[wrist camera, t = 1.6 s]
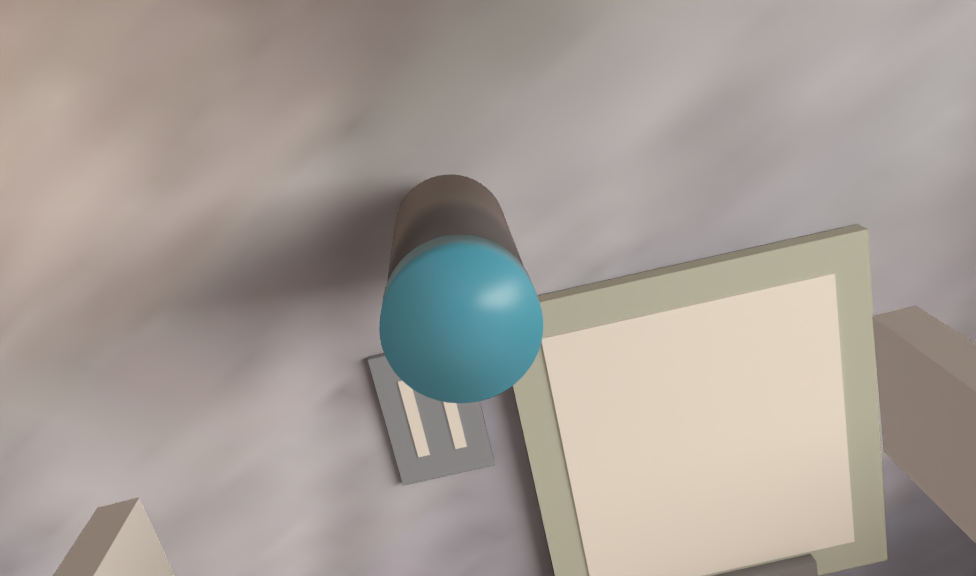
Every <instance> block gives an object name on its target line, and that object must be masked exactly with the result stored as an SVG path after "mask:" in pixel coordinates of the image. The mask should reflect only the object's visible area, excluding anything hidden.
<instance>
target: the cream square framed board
mask: <svg viewBox="0 0 976 576" xmlns="http://www.w3.org/2000/svg"><path fill="white" fill-rule="evenodd" d="M537 297H538V300H539V302H540V306H541V310H542V315H543V336H542V342H541V345H540V349H539V352H538V354H537V356H536V358H535V360H534V362H533V364H532V365H531V367H530V368H529V370H528V371H527V372H526V373H525V375H524V376H523V377H522V378H521V379H520V380H519V381H518V382H517V383H515V384H514V385H513V389H514V393H515V398H516V402H517V407H518V411H519V416H520V420H521V425H522V429H523V434H524V438H525V443H526V447H527V452H528V456H529V461H530V465H531V470H532V474H533V479H534V483H535V488H536V493H537V497H538V502H539V506H540V511H541V515H542V520H543V524H544V529H545V533H546V538H547V542H548V547H549V551H550V556H551V560H552V565H553V569H554V574H555V576H819V575H823V574H828V573H832V572H837V571H841V570H846V569H850V568H855V567H859V566H864V565H868V564H872V563H877V562H881V561H886V560H887V542H886V525H885V508H884V491H883V474H882V457H881V440H880V423H879V406H878V389H877V372H876V355H875V343H874V332H873V320H872V316H873V304H872V287H871V270H870V253H869V235H868V229H867V228H865V227H863V226H861V225H859V224H857V225H852V226H848V227H843V228H839V229H834V230H830V231H825V232H821V233H816V234H812V235H807V236H803V237H798V238H794V239H789V240H785V241H780V242H776V243H771V244H767V245H762V246H758V247H753V248H749V249H745V250H740V251H736V252H731V253H727V254H722V255H718V256H713V257H709V258H704V259H700V260H695V261H691V262H686V263H682V264H677V265H673V266H668V267H664V268H659V269H655V270H650V271H646V272H641V273H637V274H632V275H628V276H623V277H619V278H615V279H610V280H606V281H601V282H597V283H592V284H588V285H583V286H579V287H574V288H570V289H565V290H561V291H556V292H552V293H547V294H543V295H538V296H537Z"/></svg>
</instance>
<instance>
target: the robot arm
mask: <svg viewBox="0 0 976 576" xmlns="http://www.w3.org/2000/svg"><path fill="white" fill-rule="evenodd" d="M872 320H873V332H874V343H875V355H876V367H877V378H878V390H879V401H880V413H881V424H882V436H883V448H884V452H885V453H886V454H887V455H888V456H889V457H890V458H891V459H892V460H893V461H894V462H895V463H896V464H897V465H898V466H899V467H900V468H901V469H902V470H903V471H904V472H905V473H906V474H907V475H908V476H909V477H910V478H911V479H912V480H913V481H914V482H915V483H916V484H917V485H918V486H919V487H920V488H921V489H922V490H923V491H924V492H925V493H926V494H927V495H928V496H929V497H930V498H931V499H932V500H933V501H934V502H935V503H936V504H937V505H938V506H939V507H940V508H941V509H942V510H943V511H944V512H945V513H946V514H947V515H948V516H949V517H950V518H951V519H952V520H953V521H954V522H955V523H956V525H957V526H958V527H959V528H960V529H961V530H962V531H963V532H964V533H965V534H966V535H967V536H968V537H969V538H970V539H971V540H972V541H973V542H974V543H975V544H976V344H975V343H974V342H972V341H971V340H969V339H967V338H966V337H964V336H963V335H961V334H960V333H958V332H956V331H955V330H953V329H952V328H950V327H949V326H947V325H945V324H944V323H942V322H941V321H939V320H938V319H936V318H934V317H933V316H931V315H930V314H928V313H927V312H925V311H923V310H922V309H920V308H919V307H917V306H912V307H908V308H904V309H900V310H896V311H892V312H888V313H884V314H880V315H876V316H872ZM53 576H175V575H174V572H173V570H172V568H171V566H170V564H169V561H168V559H167V557H166V555H165V553H164V550H163V548H162V546H161V544H160V542H159V540H158V537H157V535H156V533H155V531H154V529H153V526H152V524H151V522H150V520H149V518H148V515H147V513H146V511H145V509H144V507H143V504H142V502H141V500H140V498H135V499H131V500H127V501H123V502H119V503H115V504H111V505H107V506H103V507H99V508H97V509H96V511H95V512H94V514H93V515H92V517H91V518H90V520H89V521H88V523H87V524H86V526H85V527H84V529H83V531H82V532H81V534H80V535H79V537H78V538H77V540H76V541H75V543H74V544H73V546H72V547H71V549H70V550H69V552H68V553H67V555H66V556H65V558H64V560H63V561H62V563H61V564H60V566H59V567H58V569H57V570H56V572H55V573H54V575H53Z"/></svg>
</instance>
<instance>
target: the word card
mask: <svg viewBox="0 0 976 576" xmlns="http://www.w3.org/2000/svg"><path fill="white" fill-rule="evenodd" d="M368 363H369V367H370V370H371V374H372V377H373V381H374V384H375V388H376V391H377V395H378V398H379V402H380V406H381V409H382V413H383V416H384V420H385V423H386V427H387V430H388V434H389V437H390V441H391V444H392V448H393V451H394V455H395V459H396V462H397V466H398V469H399V473H400V476H401V480H402V483H403V486H404V485H408V484H413V483H417V482H422V481H426V480H431V479H435V478H440V477H444V476H448V475H453V474H457V473H462V472H466V471H471V470H475V469H480V468H484V467H489V466H493V465H494V460H493V455H492V451H491V447H490V443H489V439H488V434H487V430H486V426H485V422H484V418H483V413H482V409H481V405H480V401H478V402H471V403H448V402H443V401H438V400H435V399H432V398H429V397H426V396H424V395H422V394H420V393H418V392H417V391H415V390H413V389H412V388H410V387H409V386H408V385H407V384H405V383H404V382H403V381H402V380H401V379H400V378H399V377H398V376H397V375H396V373H395V372H394V371H393V369H392V368H391V366H390V365H389V363H388V361H387V359H386V357H385V354H380V355H375V356H371V357H368Z"/></svg>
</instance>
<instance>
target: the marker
mask: <svg viewBox="0 0 976 576" xmlns="http://www.w3.org/2000/svg"><path fill="white" fill-rule="evenodd" d="M379 328H380V340H381V345H382V349H383V351H384V354H385V357H386V359H387V361H388V363H389V365H390V366H391V368H392V369H393V371H394V372H395V373H396V375H397V376H398V377H399V378H400V379H401V380H402V381H403V382H404V383H405V384H407V385H408V386H409V387H410V388H412V389H413V390H415V391H417V392H418V393H420V394H422V395H424V396H426V397H429V398H432V399H435V400H438V401H443V402H448V403H471V402H478V401H482V400H485V399H489V398H491V397H494V396H496V395H498V394H500V393H502V392H504V391H505V390H507V389H509V388H510V387H511V386H513V385H514V384H515V383H517V382H518V381H519V380H520V379H521V378H522V377H523V376H524V375H525V373H526V372H527V371H528V370H529V368H530V367H531V365H532V364H533V362H534V360H535V358H536V356H537V354H538V352H539V349H540V345H541V342H542V336H543V315H542V310H541V306H540V302H539V300H538V297H537V294H536V292H535V289H534V287H533V284H532V282H531V280H530V277H529V275H528V273H527V271H526V270H525V268H524V266H523V264H522V261H521V258H520V256H519V253H518V251H517V248H516V245H515V243H514V240H513V238H512V235H511V232H510V230H509V227H508V225H507V222H506V219H505V217H504V214H503V212H502V209H501V207H500V205H499V203H498V201H497V199H496V198H495V197H494V195H493V194H492V193H491V192H490V191H489V190H488V189H487V188H486V187H485V186H483V185H482V184H481V183H479V182H477V181H475V180H473V179H471V178H468V177H464V176H460V175H441V176H436V177H433V178H430V179H428V180H425V181H423V182H422V183H420V184H419V185H417V186H416V187H415V188H413V189H412V190H411V191H410V192H409V193H408V194H407V196H406V197H405V199H404V200H403V202H402V204H401V205H400V208H399V210H398V213H397V217H396V222H395V230H394V237H393V244H392V251H391V259H390V266H389V273H388V280H387V285H386V287H385V292H384V296H383V302H382V309H381V316H380V327H379Z"/></svg>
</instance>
